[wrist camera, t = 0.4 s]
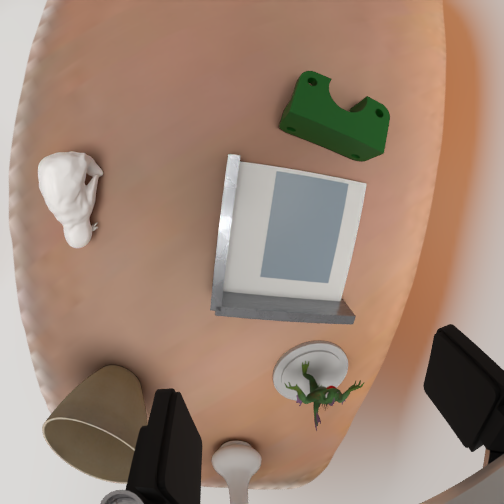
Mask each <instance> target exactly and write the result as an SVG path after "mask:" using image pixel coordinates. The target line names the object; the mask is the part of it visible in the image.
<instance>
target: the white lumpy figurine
mask: <svg viewBox="0 0 504 504" xmlns="http://www.w3.org/2000/svg"><path fill="white" fill-rule="evenodd" d="M86 173H87V174H88V175H90V176H93V178H92V179H91V181H90V182H89V184H88V185H85V183H84V182H85V179H86ZM102 175H103V171H102V169H101V168H100V167H99V166H98V165H97V164H96V163H95V161H94V159H93V158H92V157H91V156H89V155H87V154H86V153H79V152H74V151H70V152H58V153H55V154H51V155H49V156H47V157H44V158H43V159H42V160H41V162H40V163H39V166H38V179H39V188H40V191H41V192H42V195H43V197H44V199H45V202H46V204H47V206H48V208H49V210H50V211H51V212H52V213H54V215H55V218H56V219H57V220H58V221H59V222H61V223H62V225H63V226H64V236H65V239H66V241H67V242H68V244H69V245H70V246H71V247H74V248H82V247H84V246H85V245H87V244H88V243H89V241H90V240H91V237H92V231H95V229H97V228H98V227H97V228H96V223H95V225H94V226H92V227H91V224H90V220H89V217H90V215H91V213H92V210H93V206H94V203H95V198H96V190H97V183H98V179H99V177H100V176H102ZM92 225H93V224H92Z"/></svg>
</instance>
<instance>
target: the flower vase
mask: <svg viewBox="0 0 504 504" xmlns="http://www.w3.org/2000/svg"><path fill="white" fill-rule="evenodd" d="M211 461H212V465H213V468H214V469H215V470H216V472H217V473H218V474H219V475H221V476H222V477H224V479H225V481H226V482H227V485H228V488H229V494H230V504H248V485H249V481H250V479H251V477H252V476H253V475H254V474H255V473H256V472H257V471H258V470H259V468H260V466H261V462H262V458H261V456H260V454H259V452H257V451H256V450H255V449H254V448H252V447H251V445H250V444H248V443H247V442H244V441H238V440H235V441H228V442H226V443H224V444H222V446H221V447H220V449H218V450H217V451H216V452H215V453H214V454H213V456H212V460H211Z"/></svg>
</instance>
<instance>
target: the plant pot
mask: <svg viewBox="0 0 504 504" xmlns="http://www.w3.org/2000/svg"><path fill="white" fill-rule="evenodd" d="M146 425H147V418H146V411H145V404H144V399H143V394H142V389H141V385H140V382H139V380H138V378H137V377H136V376H135V375H134V374H133V373H132V372H131V371H129V370H127V369H126V368H123V367H121V366H116V365H108V366H105V367H103V368H102V369H100V370H98V371H97V372H95V373H94V374H92V375H91V376H90V377H88V378H87V379H86V380H84V381H83V382H82V383H81V384H79V385H78V386H77V387H76V388H75V389H74V390H73V391H72V392H71V393H70V394H69V395H68V396H67V397H66V398H65V399H64V400H63V401H62V402H61V403H60V404H59V406H58V407H57V408H56V409H55V410H54V411H53V413H52V414H51V415H50V416H49V418H48V419H47V420H46V422H45V423H44V424H43V427H42V431H43V435H44V438H45V440H46V442H47V444H48V445H49V446H50V448H51V449H52V450H53V451H54V452H55V453H56V454H57V455H58V456H59V457H60V458H61V459H63V460H64V461H65V462H66V463H68V464H69V465H71V466H72V467H74V468H75V469H77V470H79V471H81V472H83V473H85V474H87V475H89V476H92V477H94V478H97V479H100V480H104V481H108V482H113V483H123V484H127V481H128V477H129V472H130V468H131V463H132V459H133V455H134V451H135V446H136V442H137V438H138V434H139V431H140V428H141V427H142V426H146Z"/></svg>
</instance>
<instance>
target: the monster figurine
mask: <svg viewBox="0 0 504 504" xmlns="http://www.w3.org/2000/svg"><path fill="white" fill-rule="evenodd" d="M347 370H348V360H347V357H346V355H345V353H344V352H343V350H342V349H341V348H340V347H339V346H337V345H336V344H334V343H331V342H328V341H309V342H305V343H302V344H300V345H297V346H295V347H293V348H292V349H290V350H289V351H287V352H286V353H285V354H284V355H283V356H282V357H281V358H280V359H279V360H278V361H277V363H276V365H275V367H274V370H273V382H274V385H275V388H276V389H277V391H278V392H279V393H280V394H281V395H282V396H284V397H286V398H288V399H291V400H296V401H297V402H296V403H300V405H301V403H302V402H303V403H305V404H308V403H311V402H314V416H315V418H314V420H315V427H316V431H317V426H318V422H320V424H321V421H320V418H319V415H318V408H319V406H320V404H322V406H323V404H324V407H325V404H326V406H327V404H328V403H329V405H331V406H333V404H334V402H335V401H337V402H339V403H341V402H342V405H343V402H344V401H345V399H346V398H347V397H348V396H349V394H350V392H351V391H353V390H356V389H358V388H361V387H362V386H363V384H364V383H363V384H362V385H361V386H359V385H360V382H361V380H360V382H359V384H358V385H356V386H355V384H356V381H355V384H354V385H352V386H351V387H350V388H349V389H348V390H347V391H346V392H345V393H344V394H342V393H341V392H340V390H338V389H337V387H338V386H339V385H340V383H341V382H342V381H343V379H344V378H345V376H346V374H347ZM325 409H326V408H325ZM327 409H328V408H327Z"/></svg>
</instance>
